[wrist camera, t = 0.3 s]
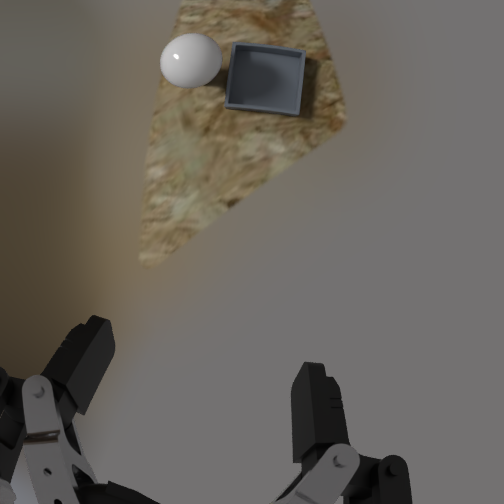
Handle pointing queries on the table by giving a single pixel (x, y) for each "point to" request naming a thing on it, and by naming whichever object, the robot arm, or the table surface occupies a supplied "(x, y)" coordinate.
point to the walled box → (265, 78)
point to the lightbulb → (191, 60)
